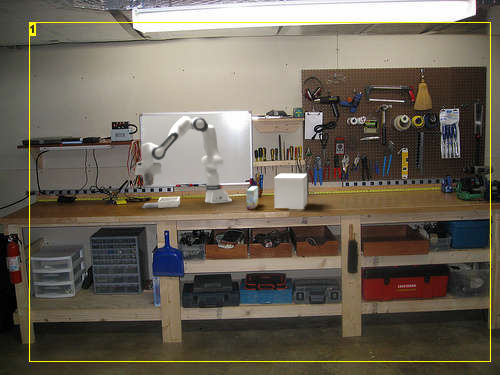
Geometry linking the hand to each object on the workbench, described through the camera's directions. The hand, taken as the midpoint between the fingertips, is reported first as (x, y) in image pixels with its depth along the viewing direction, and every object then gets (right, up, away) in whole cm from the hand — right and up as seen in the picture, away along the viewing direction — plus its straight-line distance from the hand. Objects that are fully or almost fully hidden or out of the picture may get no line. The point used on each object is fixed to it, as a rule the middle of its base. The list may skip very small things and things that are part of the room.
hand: (148, 180), depth 299 cm
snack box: (+83, -21, -10) cm, 87 cm away
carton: (+15, -20, +5) cm, 26 cm away
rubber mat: (0, -21, +3) cm, 21 cm away
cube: (+113, -21, -12) cm, 116 cm away
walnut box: (0, -4, +1) cm, 4 cm away
